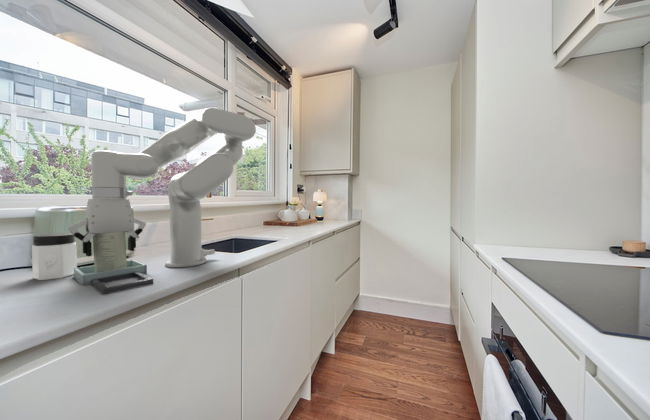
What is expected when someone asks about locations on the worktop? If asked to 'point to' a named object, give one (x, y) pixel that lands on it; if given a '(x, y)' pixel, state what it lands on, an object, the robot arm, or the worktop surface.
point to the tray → (88, 272)
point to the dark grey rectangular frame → (104, 289)
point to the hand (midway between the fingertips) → (110, 253)
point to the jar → (53, 256)
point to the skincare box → (109, 251)
